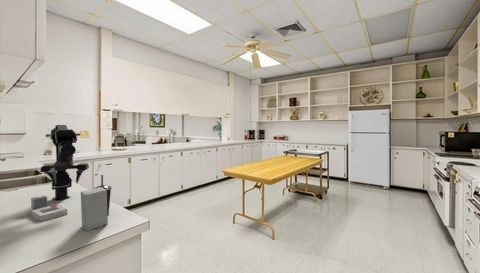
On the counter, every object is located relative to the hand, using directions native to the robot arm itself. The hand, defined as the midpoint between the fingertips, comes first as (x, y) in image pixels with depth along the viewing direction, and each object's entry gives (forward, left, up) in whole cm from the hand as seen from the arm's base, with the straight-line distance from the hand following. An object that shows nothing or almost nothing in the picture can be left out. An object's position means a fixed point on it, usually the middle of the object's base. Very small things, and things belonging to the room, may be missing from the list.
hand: (66, 183), depth 112 cm
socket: (+2, -8, -13) cm, 15 cm away
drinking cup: (+25, +5, -13) cm, 29 cm away
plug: (-8, -9, -13) cm, 18 cm away
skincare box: (+33, -2, -13) cm, 36 cm away
